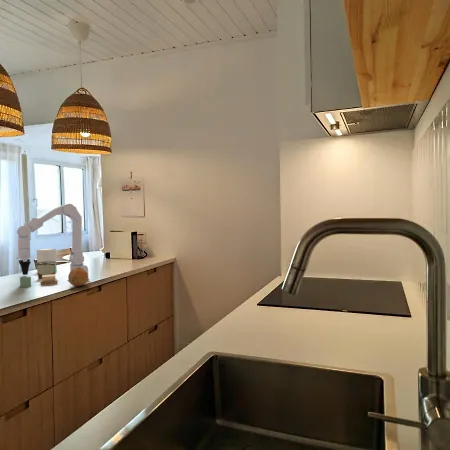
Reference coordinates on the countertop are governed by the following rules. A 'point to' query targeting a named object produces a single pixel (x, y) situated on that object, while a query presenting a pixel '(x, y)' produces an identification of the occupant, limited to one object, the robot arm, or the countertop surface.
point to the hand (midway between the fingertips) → (25, 273)
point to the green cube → (25, 281)
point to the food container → (45, 268)
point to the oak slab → (48, 277)
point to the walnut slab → (49, 282)
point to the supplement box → (46, 255)
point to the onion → (78, 276)
